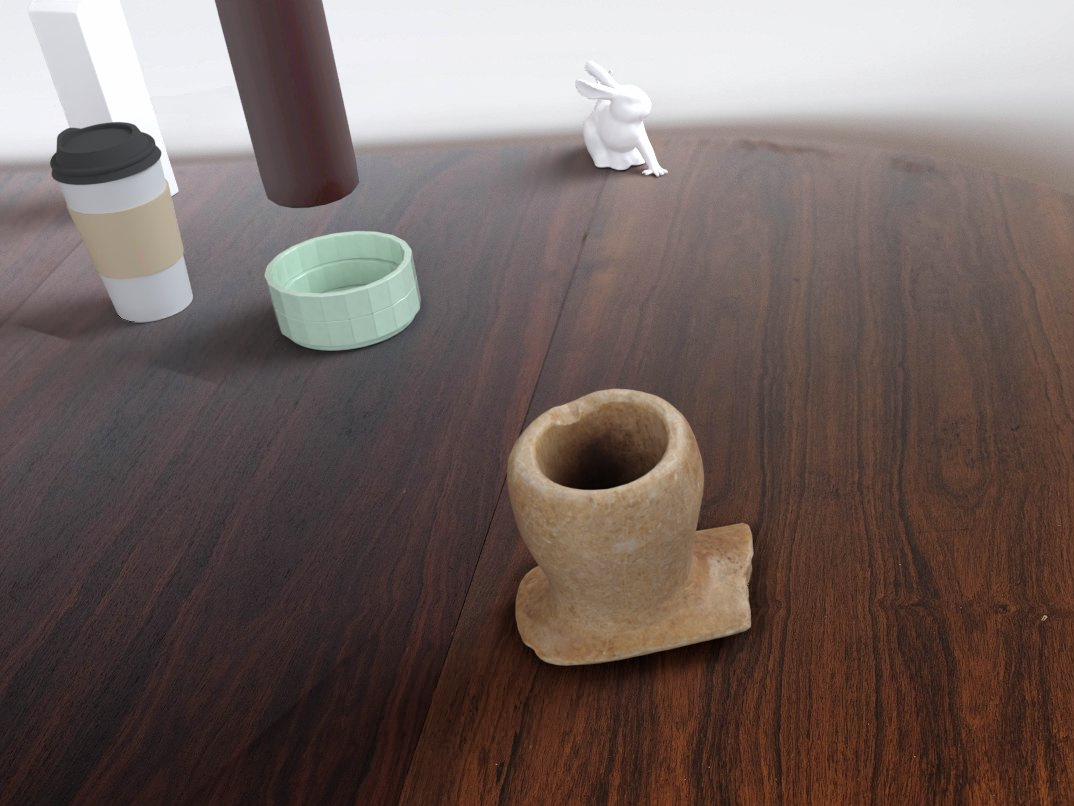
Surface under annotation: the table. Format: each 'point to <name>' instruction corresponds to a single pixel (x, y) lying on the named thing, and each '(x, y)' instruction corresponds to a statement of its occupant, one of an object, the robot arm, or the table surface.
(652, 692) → the table surface
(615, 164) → the rabbit figurine
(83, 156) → the coffee cup
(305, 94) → the beer bottle
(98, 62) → the milk
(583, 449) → the stone cup
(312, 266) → the bowl
